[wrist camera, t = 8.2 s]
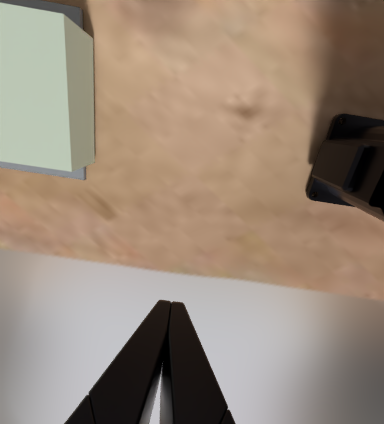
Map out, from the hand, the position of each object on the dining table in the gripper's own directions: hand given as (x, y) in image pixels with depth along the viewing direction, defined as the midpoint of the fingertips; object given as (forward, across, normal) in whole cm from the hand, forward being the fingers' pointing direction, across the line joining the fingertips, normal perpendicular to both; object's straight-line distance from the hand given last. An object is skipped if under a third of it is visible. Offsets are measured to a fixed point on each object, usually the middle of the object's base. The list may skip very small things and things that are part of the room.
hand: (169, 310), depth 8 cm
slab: (+10, +7, -6) cm, 14 cm away
